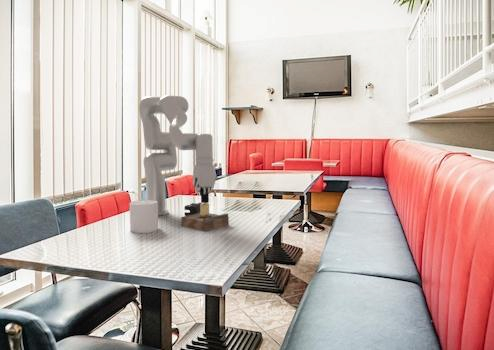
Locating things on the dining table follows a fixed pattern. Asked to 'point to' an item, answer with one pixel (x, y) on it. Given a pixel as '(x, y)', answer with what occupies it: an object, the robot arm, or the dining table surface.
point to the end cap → (192, 209)
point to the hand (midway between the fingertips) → (204, 202)
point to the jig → (205, 221)
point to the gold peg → (204, 210)
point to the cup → (143, 216)
